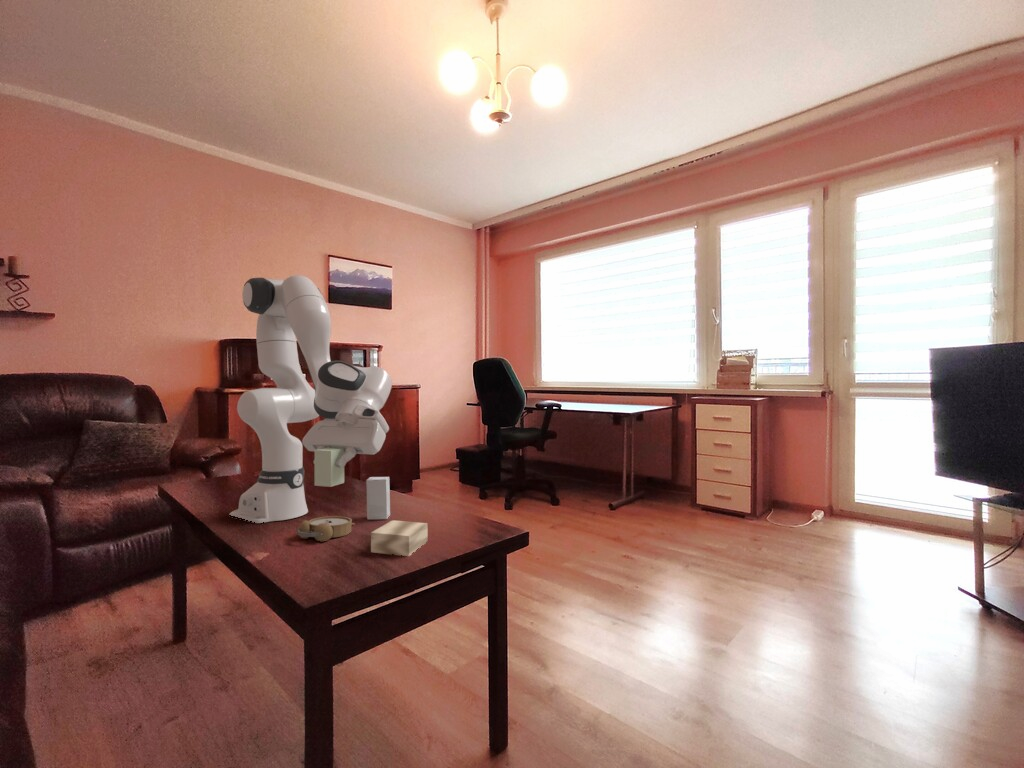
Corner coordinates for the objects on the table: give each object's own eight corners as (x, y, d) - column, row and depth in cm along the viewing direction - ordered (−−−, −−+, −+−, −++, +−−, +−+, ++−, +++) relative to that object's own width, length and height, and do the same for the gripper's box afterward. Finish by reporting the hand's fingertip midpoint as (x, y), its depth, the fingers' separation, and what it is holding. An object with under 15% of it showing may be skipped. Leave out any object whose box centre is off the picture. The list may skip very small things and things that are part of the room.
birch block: (370, 553, 106) (371, 532, 106) (392, 539, 116) (392, 520, 116) (409, 557, 104) (409, 536, 104) (427, 542, 114) (427, 523, 114)
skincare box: (390, 515, 136) (390, 476, 136) (386, 520, 132) (387, 479, 132) (370, 515, 136) (370, 476, 136) (365, 520, 131) (366, 479, 131)
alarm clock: (361, 519, 124) (321, 524, 110) (359, 537, 123) (318, 545, 109) (330, 514, 128) (287, 519, 114) (327, 532, 127) (284, 539, 113)
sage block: (314, 485, 101) (314, 450, 101) (328, 481, 105) (328, 447, 105) (331, 486, 99) (330, 451, 99) (344, 482, 104) (344, 448, 104)
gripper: (314, 410, 112) (283, 454, 103) (384, 411, 106) (359, 459, 97) (326, 426, 116) (298, 470, 107) (395, 428, 110) (371, 475, 101)
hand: (327, 465), depth 102 cm, fingers closed on sage block, 4 cm apart
